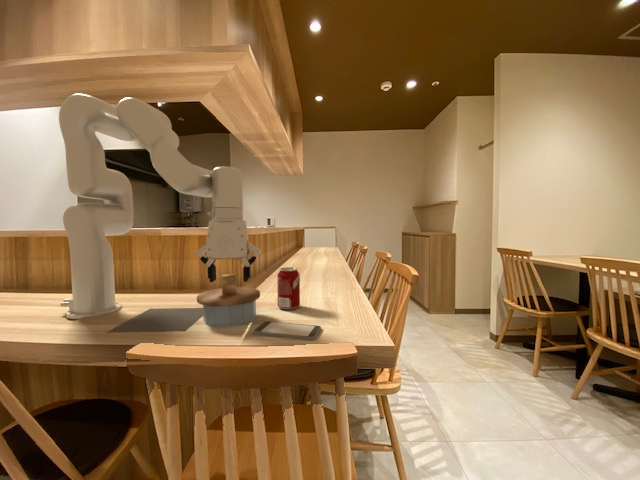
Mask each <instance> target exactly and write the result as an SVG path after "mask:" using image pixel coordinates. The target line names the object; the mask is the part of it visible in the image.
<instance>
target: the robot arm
mask: <svg viewBox="0 0 640 480" xmlns="http://www.w3.org/2000/svg"><path fill="white" fill-rule="evenodd" d="M58 122H59V128H60V132H61V136H62V138H63V144H64V148H65V162H66V163H65V165H66V177H67V183H68V184H67V185H68V188H69V190H70V192H71V193H72V194H73V195H75V196H76V197H80V198H84V199H85V198H86V199H93V200H101V201H103V203H96V202H95V203H92V202H80V203H74V204H72V205H70V206H69V207H67V208H66V209H65V211H64V212H63V215H62V222H63V227H64V229H65V233H66V237H67V241H68V245H69V246H68V247H69V258H70V271H71V272H70V274H71V276H70V277H71V291H72V292H71V293H72V298H64V299H63V301H61V303H60V307H63V308H67V307H68V311H66V313H65V318H67V319H71V320H80V319H85V318H93V317H99V316H104V315H107V314H111V313H114V312H117V311H119V310H121V309H122V308H123V304H122V303H120V302H116V291H115V290H116V289H115V286H116V285H115V267H114V251H113V248H112V245H111V243H110V241H109V240H108V238H107V236H108V237H110V236H123V235H125V234H128V233H129V232H130V231H131V230H132V228H133V227H134V226H133V225H134V218H135V216H134V213H135V211H134V198H133V197H134V196H133V187H132V184H131V182H130V181H131V180H130V179H129V178H128V177H127V176H126V175H125V173H123V172H121V171H119V170H116V169H111V168H108V167H107V164H106V153H105V150H104V147H103V145H102V143H101V141H100V139H99V138H98V136H97V135H96V133H100V134H103V135H106V136H108V137H111V138H114V139H117V140H120V141H124V142H139V143H140V144H141V145H142V147H144V148H145V149H146V151H147V152H149V157H150V161H151V163H152V166H153V168H154V169H155V171H156V173H158V174H159V176H160V177H161V178H162V180H164V181H165V182H166V183H167V184H168V185H169V186H170V187H171V188H172V189H174V190H175V191H177V192H178V193H181V194H184V195H189V196H195V197H199V198H212V208H211V210H207V213H206V215H207V217H212V218H211V219H212V220H209V221H208V227H207V234H206V235H207V236H206V244H204V245H203V246H201V247H200V248H199V249H196V251H195V254H196V255H197V256H198V258H199V259H200V262H201V263H203V264H204V265H205V267H206V268H207V279H209V283H213V282H215V281H217V266H216V265H215V263H216V262H217V260H241V261H242V263H243V264H244V265H243V268H242V273H243V274H242V276H243V277H242V278H243V282H244V283H247V282H248V281H249V279H251V265H252V264H253V263H254V262H255V261H256V260H257V259H258V258H259V256H260V254H261V253H262V250H261V249H260V248H258V247H257V246H255V245H253V244H252V243H251V242H249V234H248V225H247V222H246V220H244V211H243V210H244V209H243V208H244V205H243V204H244V203H243V202H244V200H243V199H244V197H243V174H242V171H241V169H239V168H237V167H234V166H222V165H221V166H216V167H214V168H213V169H212V170H210V169H207V168H204V167H201V166H198V165H196V164H192V163H191V162H190V161H188V159H186V158H185V157H184V155H183V154H182V153H181V152H180V151H179V150H178V148H179V146H180V139H179V136H178V134H177V133H176V132H175V131H174V130H173V129H172V128H173V126H172V122H171V120H170V118H169V117H168V115H166V114H165V113H164V112H163V111H161V110H159V109H158V108H156V107H154V106H152V105H150V104H149V103H146V102H145V101H143V100H141V99H139V98H135V97H124V98H123V99H121V100H120V101H118V103H117V105H116V106H114V105H112V104H110V103H108V102H106V101H104V100H102V99H100V98H97V97H95V96H92V95H88V94H84V93H74V94H71V95H69V96H68V97H67V98H65V99H64V101H63V102H62V104H61V106H60V108H59V112H58ZM250 251H252V252H253V255H252V256H251V257H249V254H250ZM205 252H206V255H205Z"/></svg>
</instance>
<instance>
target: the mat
mask: <svg viewBox="0 0 640 480" xmlns="http://www.w3.org/2000/svg"><path fill="white" fill-rule="evenodd" d="M201 318H203V307H173V308H171V307H170V308H164V307H163V308H162V307H161V308H160V307H158V308H149V309H147V310H145V311H143V312H141V313H139V314H137V315H135V316H134V317H132V318H130V319H128V320H126V321H125V322H123V323H120V324H119V325H117V326H115V327H113V328H111V329H110V330H108V331H106V332H105V333H107V334H108V333H109V334H110V333H152V332H154V333H157V332H160V333H161V332H187V330H188V329H190V328H191V327H192V326H193V325H194V324H195V323H196V322H198V321H199V320H200V319H201Z"/></svg>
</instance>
